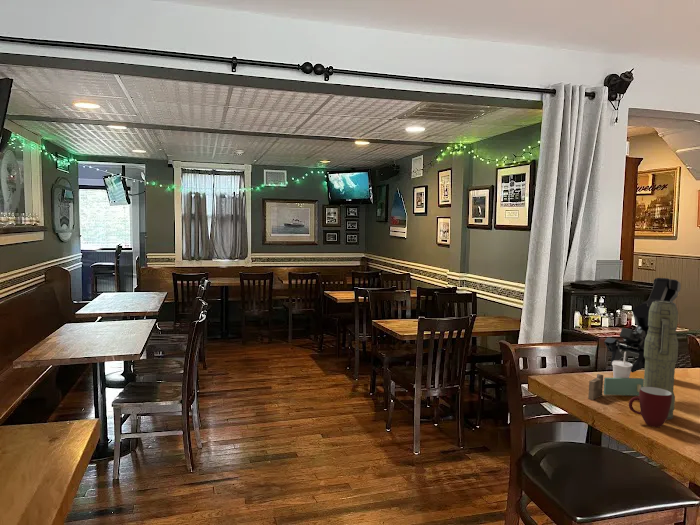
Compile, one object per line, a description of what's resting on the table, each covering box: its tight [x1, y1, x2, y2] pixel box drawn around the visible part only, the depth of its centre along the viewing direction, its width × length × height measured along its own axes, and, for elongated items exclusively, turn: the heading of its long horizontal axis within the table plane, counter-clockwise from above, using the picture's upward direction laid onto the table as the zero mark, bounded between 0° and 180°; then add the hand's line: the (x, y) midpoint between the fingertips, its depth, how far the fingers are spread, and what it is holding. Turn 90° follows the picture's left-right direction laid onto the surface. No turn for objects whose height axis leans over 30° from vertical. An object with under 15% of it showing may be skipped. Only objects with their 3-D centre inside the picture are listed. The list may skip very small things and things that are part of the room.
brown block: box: [588, 373, 604, 401], centre depth 176 cm, size 24×2×7 cm, turn 133°
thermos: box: [643, 300, 679, 420], centre depth 154 cm, size 9×12×35 cm
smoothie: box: [612, 351, 634, 378], centre depth 175 cm, size 6×6×14 cm
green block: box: [602, 377, 644, 397], centre depth 172 cm, size 13×2×6 cm, turn 90°
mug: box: [628, 387, 672, 428], centre depth 147 cm, size 11×8×10 cm
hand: (621, 368), depth 174 cm, fingers open, 7 cm apart
